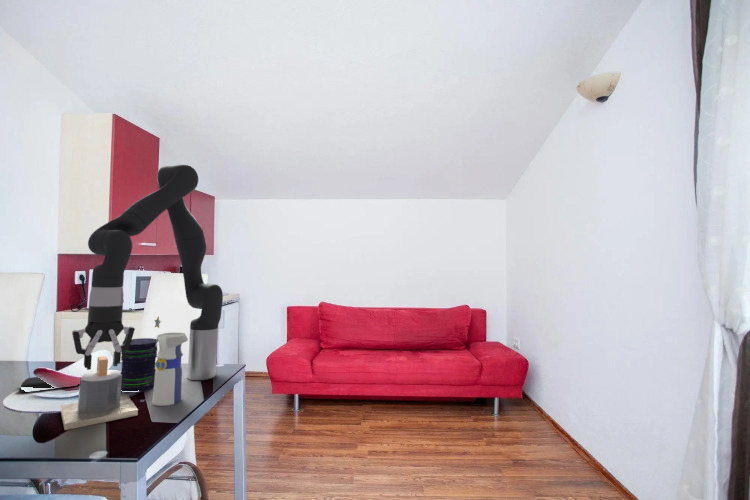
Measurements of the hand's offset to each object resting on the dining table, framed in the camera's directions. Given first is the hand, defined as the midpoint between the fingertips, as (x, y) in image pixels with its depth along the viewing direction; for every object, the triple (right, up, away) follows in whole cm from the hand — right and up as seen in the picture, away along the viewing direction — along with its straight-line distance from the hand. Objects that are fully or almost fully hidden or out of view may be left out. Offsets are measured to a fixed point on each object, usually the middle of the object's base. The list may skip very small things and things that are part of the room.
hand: (102, 367), depth 101 cm
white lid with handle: (0, -6, 0) cm, 6 cm away
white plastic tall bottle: (+12, -13, +10) cm, 20 cm away
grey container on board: (0, -12, -1) cm, 12 cm away
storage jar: (-3, -13, +20) cm, 24 cm away
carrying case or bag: (-30, -13, +19) cm, 38 cm away
